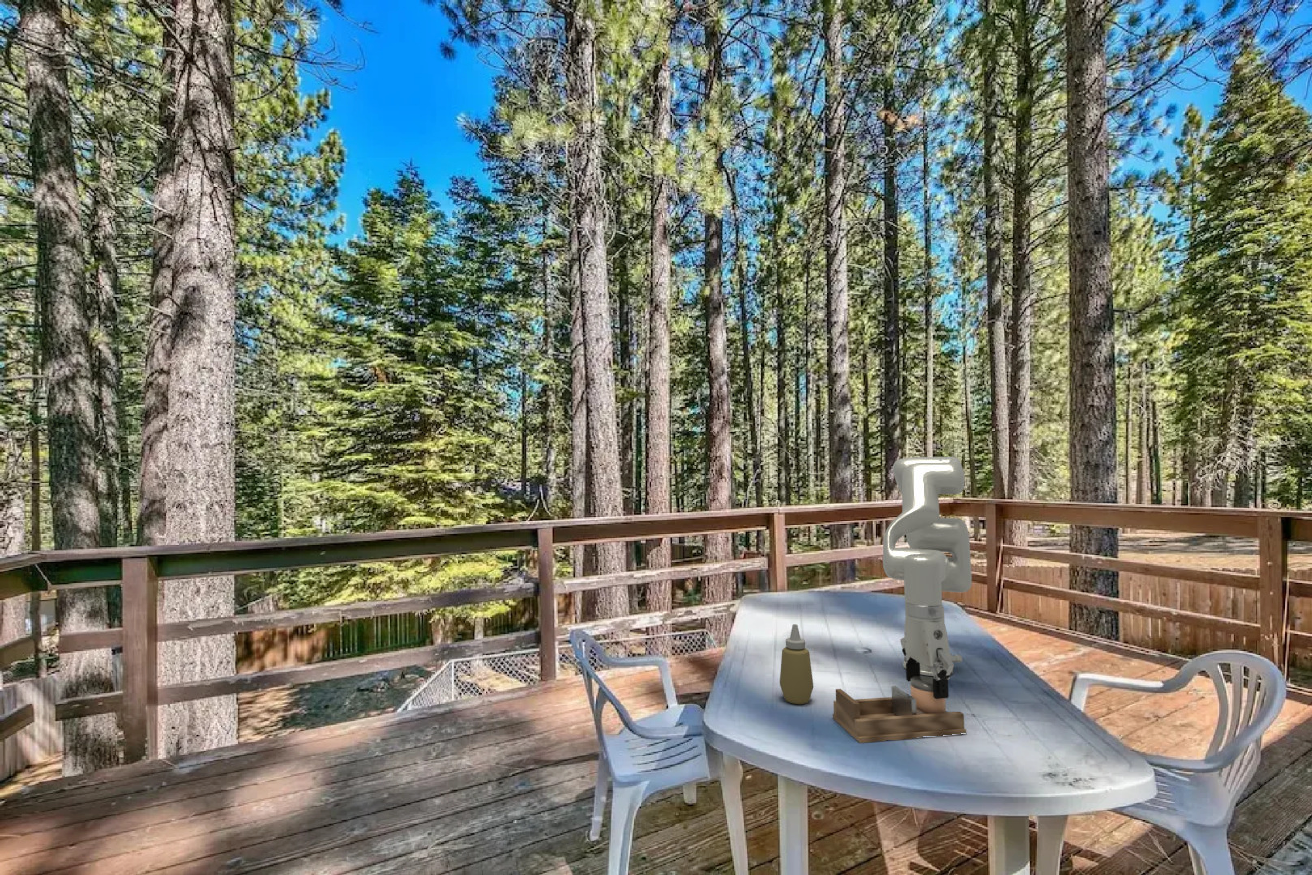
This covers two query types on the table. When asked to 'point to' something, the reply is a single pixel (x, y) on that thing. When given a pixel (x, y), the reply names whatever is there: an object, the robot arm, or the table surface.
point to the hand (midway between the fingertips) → (926, 688)
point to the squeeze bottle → (796, 670)
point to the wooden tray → (890, 720)
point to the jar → (926, 695)
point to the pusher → (903, 703)
